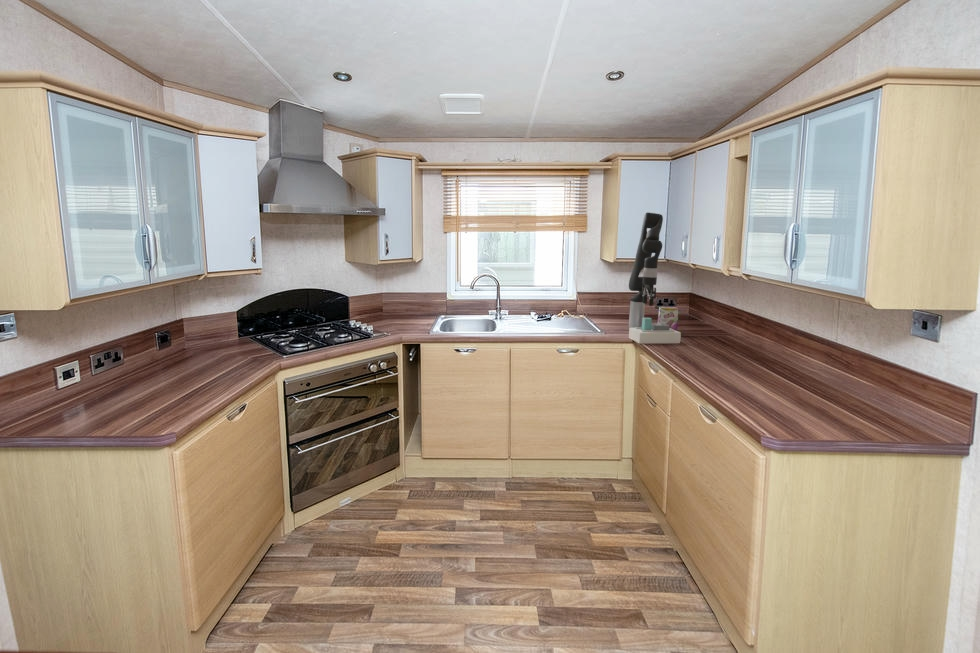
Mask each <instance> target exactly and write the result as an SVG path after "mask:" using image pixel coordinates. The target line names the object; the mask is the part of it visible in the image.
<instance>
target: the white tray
mask: <svg viewBox="0 0 980 653" xmlns="http://www.w3.org/2000/svg"><path fill="white" fill-rule="evenodd" d="M681 337H682V332H680V331H678V330H677V331H675V330H674V329H671V328H670V329H669V330H653V329H651V330H642V327H635V328H630V327H628V339H631V340H632V341H633V342H635V343H638V344H640V345H641V344H680V343H681Z"/></svg>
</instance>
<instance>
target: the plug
mask: <svg viewBox="0 0 980 653" xmlns="http://www.w3.org/2000/svg"><path fill="white" fill-rule="evenodd" d="M652 323H653V318H652V317H644V318H642V330H651V324H652Z"/></svg>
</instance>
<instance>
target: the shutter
mask: <svg viewBox="0 0 980 653" xmlns="http://www.w3.org/2000/svg"><path fill="white" fill-rule="evenodd" d="M651 329H653V330H669V329H670V326H669V325H667V324H664V323H659V322H658V321H656V322H654V323H653V322H652V324H651Z"/></svg>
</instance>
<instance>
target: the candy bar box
mask: <svg viewBox="0 0 980 653" xmlns="http://www.w3.org/2000/svg"><path fill="white" fill-rule="evenodd" d="M679 311H680V308H679V307H677V306H659V307H658V316H657V322H659V323H664V324H667V325H669V326H670V328H671V329H674V330H675V331H678V326H679V325H678V323H679Z"/></svg>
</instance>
